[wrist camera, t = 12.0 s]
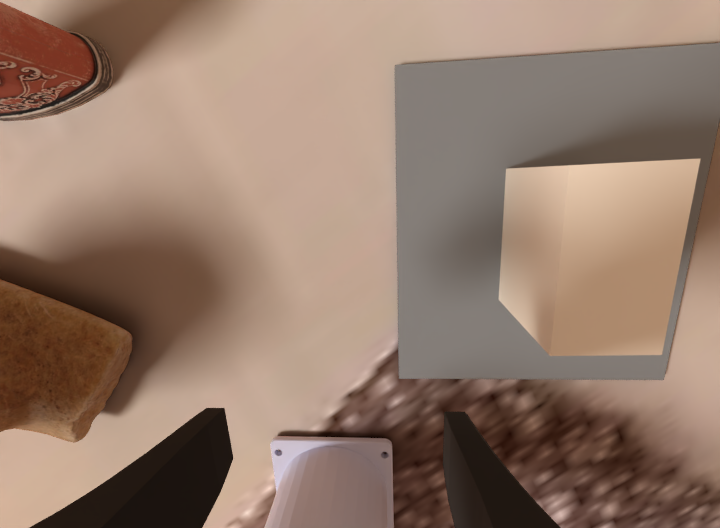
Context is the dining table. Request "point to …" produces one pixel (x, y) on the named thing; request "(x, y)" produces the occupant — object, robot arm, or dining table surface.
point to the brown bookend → (55, 364)
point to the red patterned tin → (46, 67)
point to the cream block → (595, 253)
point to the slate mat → (522, 150)
